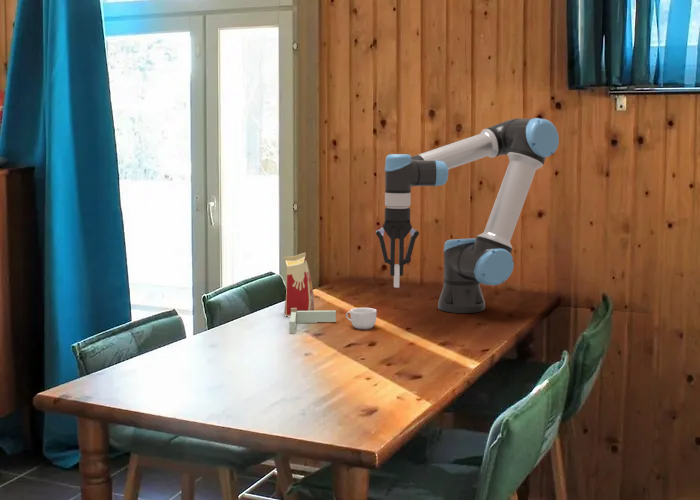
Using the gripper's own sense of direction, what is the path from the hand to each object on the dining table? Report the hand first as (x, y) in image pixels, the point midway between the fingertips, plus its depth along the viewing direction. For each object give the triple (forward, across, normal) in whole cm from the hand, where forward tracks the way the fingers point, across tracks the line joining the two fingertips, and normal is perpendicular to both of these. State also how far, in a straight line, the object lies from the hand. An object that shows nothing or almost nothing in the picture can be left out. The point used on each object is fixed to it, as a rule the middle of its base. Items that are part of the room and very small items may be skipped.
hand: (396, 286), depth 265 cm
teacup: (+13, +10, 0) cm, 16 cm away
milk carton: (+13, +30, -19) cm, 37 cm away
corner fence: (+12, +25, -1) cm, 28 cm away
